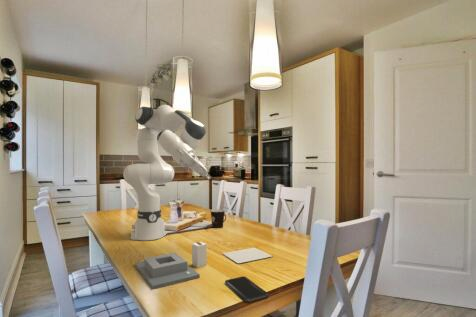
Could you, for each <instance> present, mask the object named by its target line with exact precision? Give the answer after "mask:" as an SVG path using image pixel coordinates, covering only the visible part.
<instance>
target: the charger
mask: <svg viewBox="0 0 476 317" xmlns="http://www.w3.org/2000/svg"><path fill="white" fill-rule="evenodd" d="M207 246H208V245H207V243H204V242H203V241H199V242H194V243H192V244H191V251H192V252H191V265H192V266H194V267H196V268H201V267H205V266H207V264H208V263H207V262H208V261H207V258H208V257H207V253H208V252H207V251H208V250H207V249H208V248H207Z"/></svg>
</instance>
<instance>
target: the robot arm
mask: <svg viewBox="0 0 476 317" xmlns="http://www.w3.org/2000/svg"><path fill="white" fill-rule="evenodd" d="M134 116H135V122H136V123H137V124H139V125H140V126H143V128H141V129H140V130H139V131H138V135H137V142H136V143H137V156H138V158H139V160H140V161H142V162H143V163H133V164H128V165H126V167H125V168H124V170H123V175H122V176H123V178H124V181H125V183H127V184H128V185H130V186H131V187H132V188H133V189H134V190H135V193H136V195H137V201H138V202H137V203H138V210H137V212H136V213H137V215H136V218H137V219H136V220H135V222H134V224H132V225H131V230H132V231H130V234H129V235H131V236H130V241H152V240H154V241H155V240H158V239H161V238H163V237H164V236H167V235H168V232H167V231H165V221H164V219H163V218H162V209H161V194H160V193H158V192H156V191H155V190H153V189H150V188H149V185H163V184H168V183H171V182H172V181H173V180H174V177H175V169H174V167H173V166H172V165H171V164H169V163H167V162H166V161H165V160H164V159H163V158H162V156H161V155H160V150H159V145H160V147H161V148H162V149H163V150H164V151H165V153H167V154H168V155H171V158H172V159H173V160H174V161H175V162H176V163H177V164H178V165H179V166H181V167H185V168H188V169H191V170H192V171H193V172H195V173H197V174H198V175H199V176H201V177H205V178H206V179H207V180H210V179H211V178H212V176H211V175H210V173H208V172H209V170H208V169H207V168H206V166H205V165H204V164H203V163H202V162H201V161H200V159H199V157H198V156H197V153H196V150H197V148H198V146H199V144H200V142H201V141H202V139H203V138H204V137H205V135H206V133H207V132H206V127H205V125H204V124H203V123H202V122H201V121H198V120H196V119H195V118H193V117H192V116H190V115H189V114H188V113H186V112H184V111H182V110H179V109H177V110H175V109H174V108H173V106H171V105H168V104H161V105H159V106H158V107H157V108H156V109H154V108H153V107H152V106H149V107H148V106H141V107H139V108H138V109H137V111H136V113H135V115H134ZM183 125H184V126H183ZM182 127H183V129H182V131H181V133H180V135H179V136H178V135H177V134H176V133H175V132H177V131H179V130H180V129H181V128H182ZM158 136H159V137H158ZM166 234H167V235H166Z"/></svg>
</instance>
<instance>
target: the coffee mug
mask: <svg viewBox="0 0 476 317" xmlns="http://www.w3.org/2000/svg"><path fill="white" fill-rule="evenodd" d="M225 212H226V210H224V209H210V216H211V217H210V218H211V226H212V229H222V228H223V227H224V222H226V220H227V215H226V214H225Z"/></svg>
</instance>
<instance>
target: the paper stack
mask: <svg viewBox="0 0 476 317" xmlns="http://www.w3.org/2000/svg"><path fill="white" fill-rule="evenodd" d="M222 254H223V256H225V257H227V258H228V259H230V260H232V261H234V262H235V263H237V264H242V263H247V262H252V261H257V260H262V259H266V258H272V257H273V255H271V254H269V253H267V252H264V251H263V250H260V249H259V248H256V247H250V248H244V249H238V250H233V251H228V252H227V251H226V252H223V253H222Z"/></svg>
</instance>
